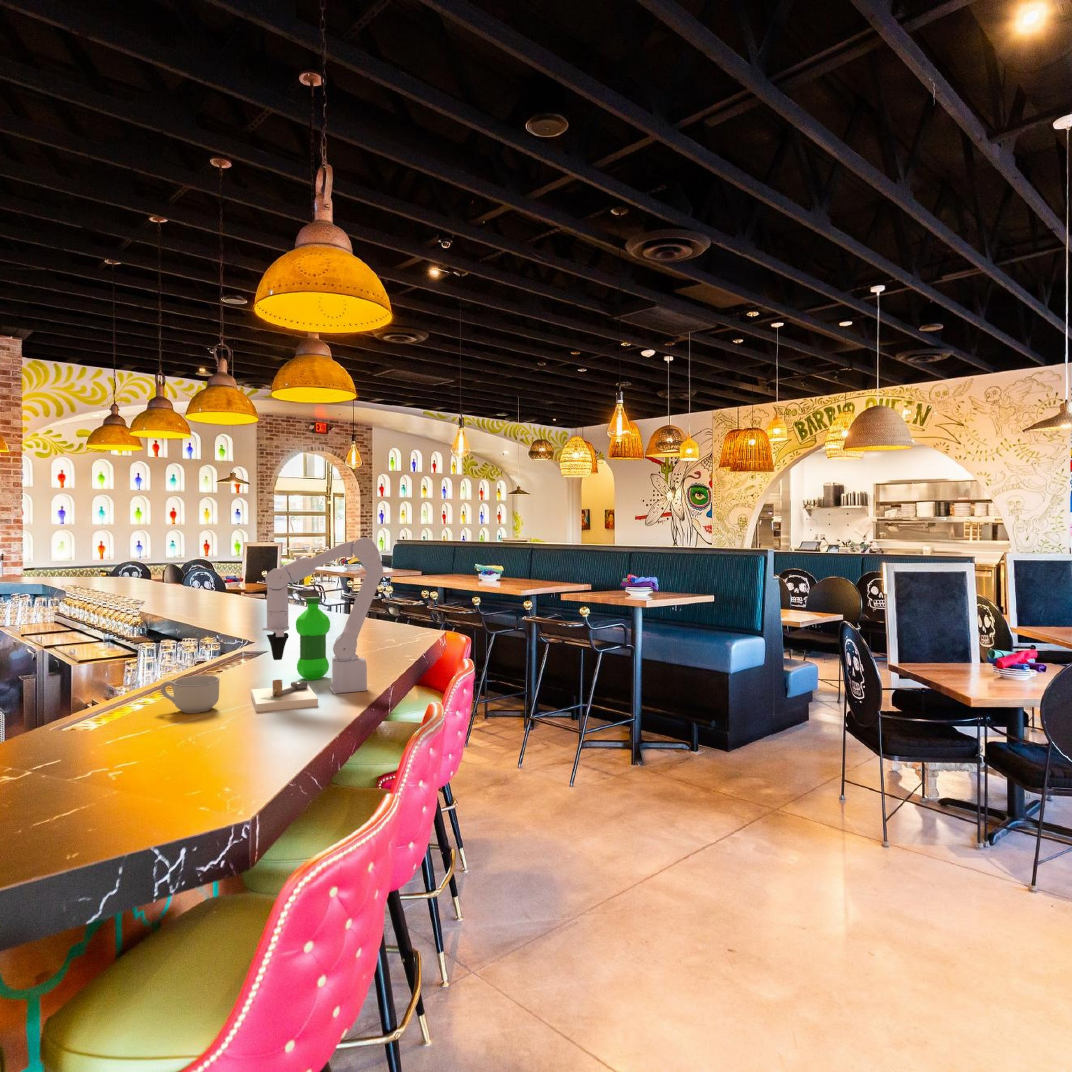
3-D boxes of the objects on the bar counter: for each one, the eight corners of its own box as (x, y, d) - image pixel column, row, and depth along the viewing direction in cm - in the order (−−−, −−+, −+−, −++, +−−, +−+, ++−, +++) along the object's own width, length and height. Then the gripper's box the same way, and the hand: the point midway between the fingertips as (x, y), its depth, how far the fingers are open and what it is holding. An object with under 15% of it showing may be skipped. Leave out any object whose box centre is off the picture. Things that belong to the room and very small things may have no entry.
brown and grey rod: (296, 686, 204) (296, 671, 204) (310, 686, 203) (310, 672, 203) (264, 697, 189) (263, 682, 189) (278, 698, 188) (278, 682, 188)
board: (308, 691, 207) (308, 684, 207) (318, 706, 190) (317, 698, 190) (251, 696, 201) (251, 689, 201) (256, 712, 183) (256, 703, 183)
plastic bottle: (288, 680, 223) (288, 598, 223) (308, 674, 233) (308, 595, 233) (317, 682, 220) (317, 599, 220) (336, 676, 230) (336, 596, 230)
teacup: (227, 706, 190) (227, 675, 190) (204, 716, 179) (204, 683, 179) (177, 704, 191) (177, 674, 191) (151, 715, 181) (151, 682, 181)
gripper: (260, 609, 210) (260, 656, 210) (264, 614, 197) (264, 664, 197) (286, 608, 213) (286, 655, 213) (291, 613, 200) (291, 662, 200)
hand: (277, 659), depth 205 cm, fingers closed
